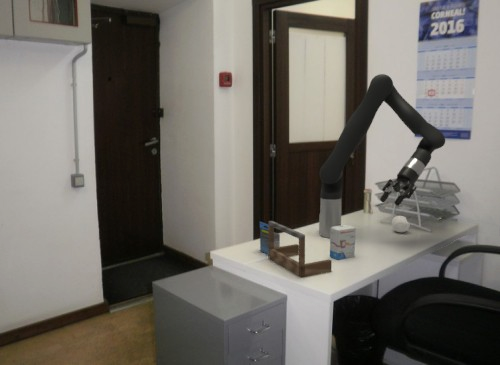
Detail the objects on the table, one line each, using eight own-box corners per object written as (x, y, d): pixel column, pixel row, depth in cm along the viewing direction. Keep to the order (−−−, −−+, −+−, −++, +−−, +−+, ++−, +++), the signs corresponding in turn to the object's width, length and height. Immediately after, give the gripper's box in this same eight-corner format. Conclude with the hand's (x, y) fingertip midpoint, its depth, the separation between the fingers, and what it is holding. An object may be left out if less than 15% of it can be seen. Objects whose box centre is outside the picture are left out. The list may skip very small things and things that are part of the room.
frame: (268, 258, 176) (268, 221, 174) (296, 253, 182) (296, 217, 179) (301, 277, 156) (301, 235, 153) (331, 271, 161) (331, 230, 159)
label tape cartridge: (280, 254, 181) (280, 224, 179) (272, 256, 179) (272, 225, 177) (267, 249, 188) (267, 219, 186) (259, 250, 186) (259, 221, 184)
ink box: (337, 260, 173) (337, 229, 171) (329, 256, 177) (329, 226, 176) (355, 256, 177) (355, 226, 175) (346, 253, 181) (347, 224, 179)
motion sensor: (412, 234, 207) (413, 217, 206) (396, 235, 206) (396, 218, 205) (404, 229, 215) (404, 213, 214) (388, 230, 214) (389, 214, 213)
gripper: (393, 164, 192) (371, 194, 189) (419, 167, 179) (396, 199, 176) (403, 175, 195) (381, 205, 192) (429, 179, 182) (406, 211, 179)
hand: (388, 202), depth 184 cm, fingers open, 7 cm apart
